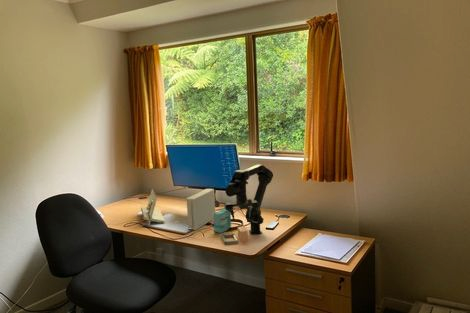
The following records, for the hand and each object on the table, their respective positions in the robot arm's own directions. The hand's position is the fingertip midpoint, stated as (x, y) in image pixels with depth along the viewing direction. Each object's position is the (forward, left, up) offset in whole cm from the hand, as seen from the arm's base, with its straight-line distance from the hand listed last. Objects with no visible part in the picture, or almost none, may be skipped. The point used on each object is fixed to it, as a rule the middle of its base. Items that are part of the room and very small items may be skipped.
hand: (242, 219), depth 208 cm
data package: (-18, -8, -11) cm, 23 cm away
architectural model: (-56, -51, -12) cm, 77 cm away
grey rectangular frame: (0, -7, -11) cm, 13 cm away
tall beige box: (0, 0, -11) cm, 11 cm away
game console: (-35, -19, -11) cm, 42 cm away
